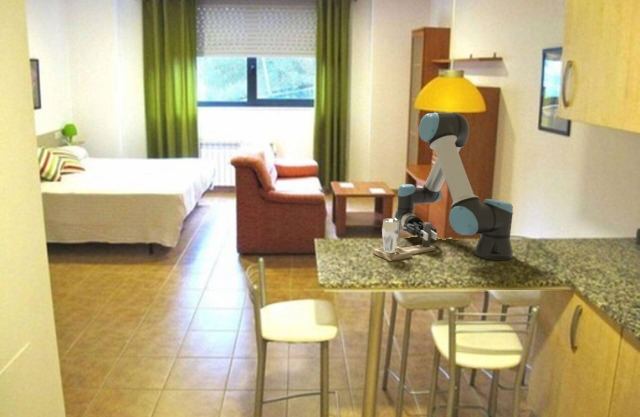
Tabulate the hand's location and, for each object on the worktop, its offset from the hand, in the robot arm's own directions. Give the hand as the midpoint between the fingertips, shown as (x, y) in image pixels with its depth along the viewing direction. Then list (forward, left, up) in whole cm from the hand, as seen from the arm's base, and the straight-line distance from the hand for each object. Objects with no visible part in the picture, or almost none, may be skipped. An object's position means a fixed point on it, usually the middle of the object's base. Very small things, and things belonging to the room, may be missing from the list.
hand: (431, 237), depth 247 cm
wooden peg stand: (+5, +9, -7) cm, 13 cm away
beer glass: (+5, +18, -7) cm, 20 cm away
